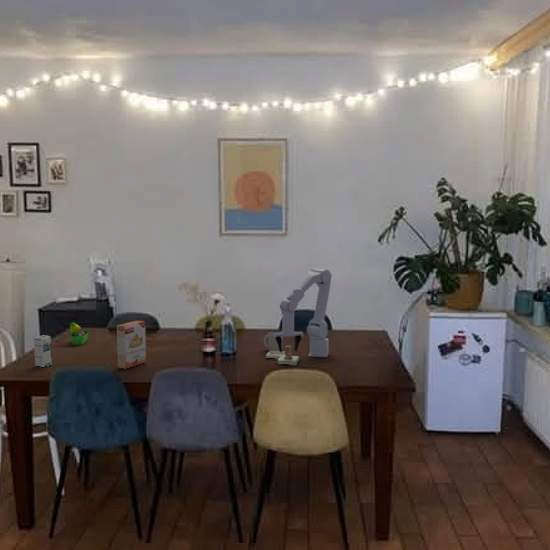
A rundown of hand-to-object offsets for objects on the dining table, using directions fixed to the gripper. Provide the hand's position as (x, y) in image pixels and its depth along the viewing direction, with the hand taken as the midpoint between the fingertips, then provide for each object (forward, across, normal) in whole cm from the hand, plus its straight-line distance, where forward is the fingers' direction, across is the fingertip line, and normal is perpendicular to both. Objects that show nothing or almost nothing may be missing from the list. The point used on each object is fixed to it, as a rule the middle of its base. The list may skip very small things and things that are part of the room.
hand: (288, 351), depth 335 cm
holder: (+6, 0, 0) cm, 6 cm away
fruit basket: (+6, +103, -65) cm, 122 cm away
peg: (+6, 0, 0) cm, 6 cm away
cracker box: (+6, +74, -11) cm, 76 cm away
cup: (+6, +2, -25) cm, 26 cm away
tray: (+6, +3, -11) cm, 13 cm away
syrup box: (+6, +116, -20) cm, 118 cm away
